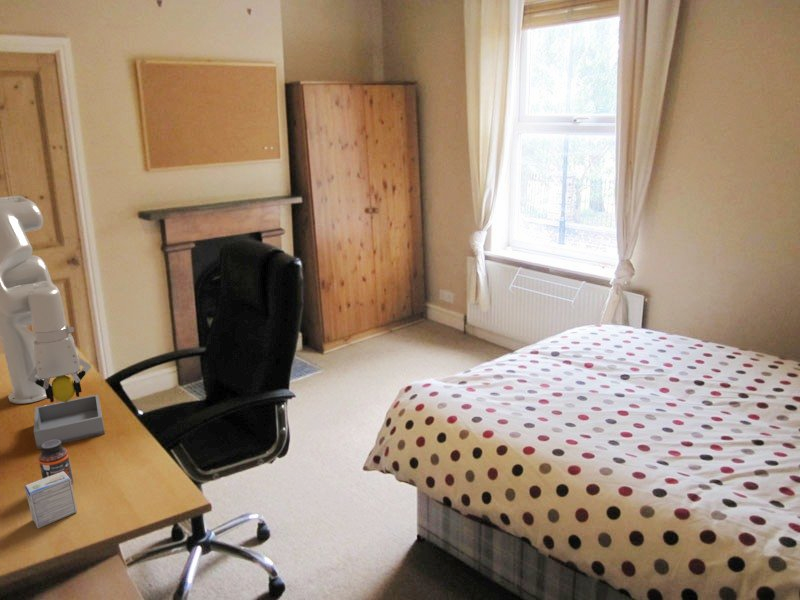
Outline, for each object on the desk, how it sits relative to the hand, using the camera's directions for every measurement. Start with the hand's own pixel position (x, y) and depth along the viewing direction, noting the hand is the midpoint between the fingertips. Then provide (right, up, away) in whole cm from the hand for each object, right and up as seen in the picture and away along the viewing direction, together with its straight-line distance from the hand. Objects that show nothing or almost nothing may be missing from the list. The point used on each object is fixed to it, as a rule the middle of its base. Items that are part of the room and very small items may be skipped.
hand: (65, 397), depth 171 cm
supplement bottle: (+11, -17, -24) cm, 31 cm away
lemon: (0, -2, 0) cm, 2 cm away
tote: (0, -9, +3) cm, 10 cm away
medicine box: (+16, -21, -34) cm, 43 cm away
